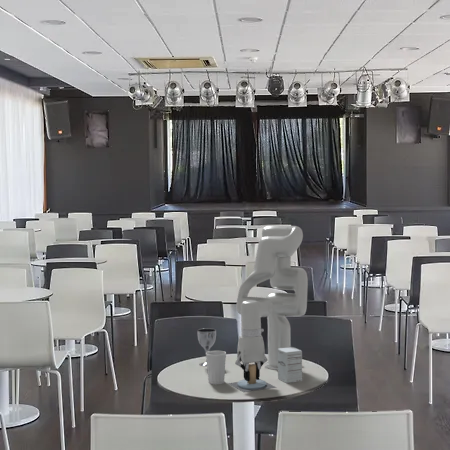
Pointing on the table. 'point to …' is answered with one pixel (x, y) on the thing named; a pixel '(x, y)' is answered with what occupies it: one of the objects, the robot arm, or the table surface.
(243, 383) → the lid
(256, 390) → the mat
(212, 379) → the cup
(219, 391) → the table surface
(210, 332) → the wine glass
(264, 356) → the robot arm
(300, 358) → the supplement box
